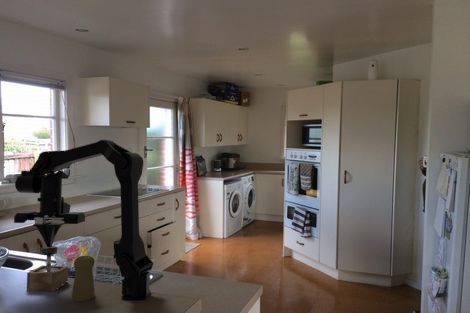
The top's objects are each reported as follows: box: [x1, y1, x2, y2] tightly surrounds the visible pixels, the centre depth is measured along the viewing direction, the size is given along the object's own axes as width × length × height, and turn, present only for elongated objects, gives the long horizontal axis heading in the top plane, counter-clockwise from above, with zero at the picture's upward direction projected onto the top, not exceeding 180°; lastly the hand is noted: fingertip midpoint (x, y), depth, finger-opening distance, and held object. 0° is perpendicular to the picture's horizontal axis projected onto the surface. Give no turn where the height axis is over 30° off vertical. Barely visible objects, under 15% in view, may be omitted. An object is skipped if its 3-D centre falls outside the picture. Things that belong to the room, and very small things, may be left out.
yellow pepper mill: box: [70, 255, 96, 302], centre depth 101 cm, size 6×6×11 cm
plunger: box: [38, 245, 59, 273], centre depth 109 cm, size 6×6×7 cm
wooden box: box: [26, 265, 69, 292], centre depth 109 cm, size 8×8×5 cm
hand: (49, 246), depth 109 cm, fingers closed
